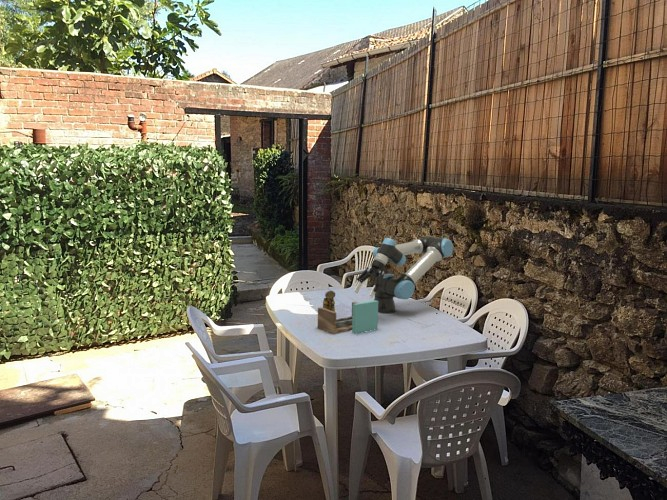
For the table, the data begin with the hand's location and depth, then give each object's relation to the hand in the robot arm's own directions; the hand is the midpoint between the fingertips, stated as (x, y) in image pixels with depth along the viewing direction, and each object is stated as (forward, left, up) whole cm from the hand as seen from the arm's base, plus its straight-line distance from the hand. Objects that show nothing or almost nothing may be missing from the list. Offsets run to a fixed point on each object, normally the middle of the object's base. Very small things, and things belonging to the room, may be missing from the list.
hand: (363, 294), depth 307 cm
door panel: (+11, +15, -16) cm, 25 cm away
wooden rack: (+16, +3, -16) cm, 23 cm away
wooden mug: (+11, -18, -16) cm, 27 cm away
